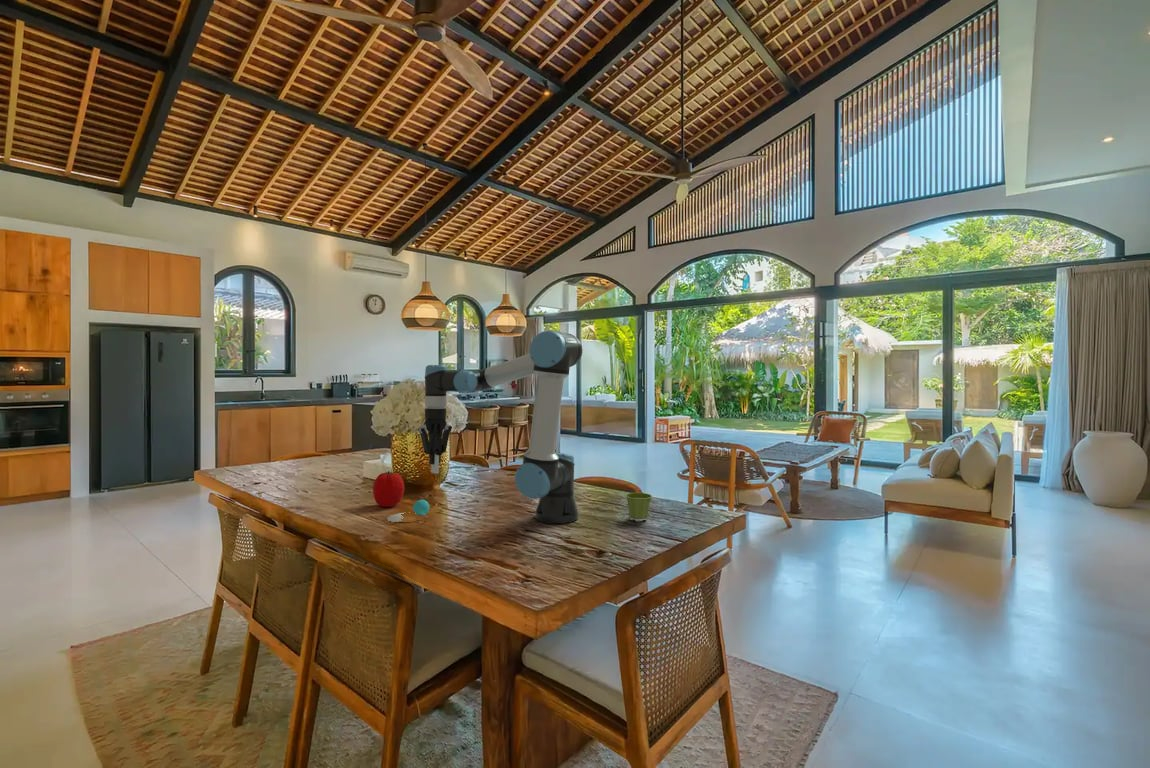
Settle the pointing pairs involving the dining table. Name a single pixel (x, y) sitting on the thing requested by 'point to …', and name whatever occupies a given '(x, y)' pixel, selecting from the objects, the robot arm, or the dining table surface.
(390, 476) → the tomato
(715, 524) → the dining table surface
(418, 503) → the ball
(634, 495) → the plant pot
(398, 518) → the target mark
